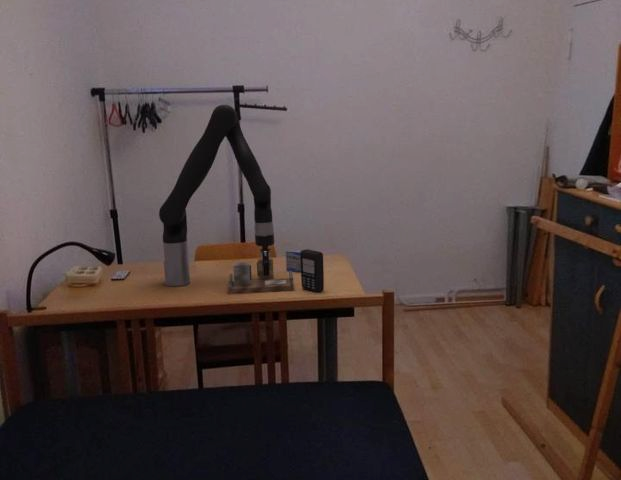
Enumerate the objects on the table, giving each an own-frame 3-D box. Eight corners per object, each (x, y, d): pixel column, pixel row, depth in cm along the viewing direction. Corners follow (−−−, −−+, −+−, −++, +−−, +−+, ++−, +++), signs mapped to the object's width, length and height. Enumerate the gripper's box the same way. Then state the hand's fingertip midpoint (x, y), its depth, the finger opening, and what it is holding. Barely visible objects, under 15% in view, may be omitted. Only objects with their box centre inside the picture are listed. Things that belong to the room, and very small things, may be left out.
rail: (229, 294, 219) (227, 268, 217) (230, 286, 229) (228, 261, 227) (293, 290, 221) (292, 264, 219) (292, 283, 231) (291, 258, 229)
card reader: (300, 288, 223) (298, 250, 220) (307, 286, 226) (306, 248, 222) (317, 293, 216) (316, 253, 213) (324, 291, 219) (323, 251, 216)
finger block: (257, 281, 235) (256, 261, 233) (257, 278, 239) (256, 259, 237) (273, 280, 236) (272, 261, 234) (273, 277, 239) (272, 258, 238)
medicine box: (286, 271, 249) (285, 251, 247) (291, 268, 253) (290, 248, 251) (302, 272, 245) (301, 252, 243) (307, 270, 249) (306, 250, 247)
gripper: (254, 230, 240) (257, 268, 243) (254, 237, 226) (257, 277, 229) (273, 229, 240) (275, 267, 244) (274, 236, 227) (276, 276, 230)
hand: (266, 272), depth 237 cm, fingers open, 8 cm apart
